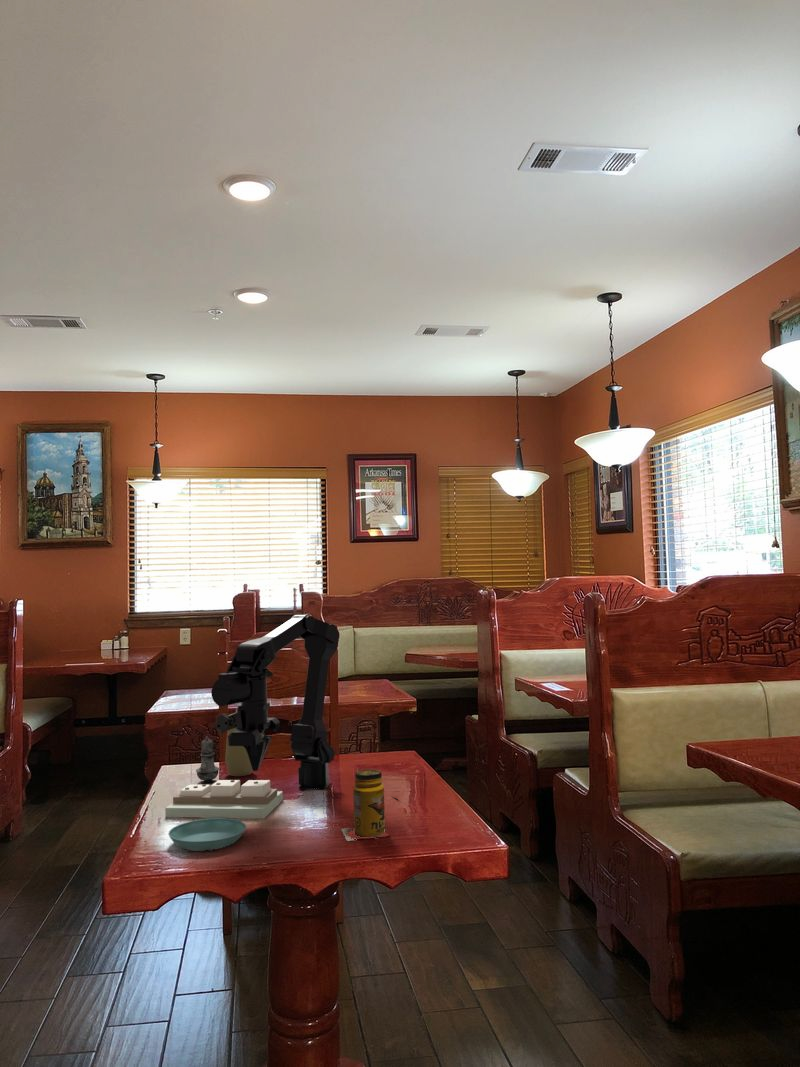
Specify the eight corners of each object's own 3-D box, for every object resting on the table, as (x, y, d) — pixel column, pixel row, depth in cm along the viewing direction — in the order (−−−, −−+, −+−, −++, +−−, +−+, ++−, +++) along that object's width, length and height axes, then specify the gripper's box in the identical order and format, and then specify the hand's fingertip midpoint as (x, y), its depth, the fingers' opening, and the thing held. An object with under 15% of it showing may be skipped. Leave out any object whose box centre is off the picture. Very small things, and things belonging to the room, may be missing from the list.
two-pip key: (240, 791, 181) (240, 779, 181) (232, 797, 176) (232, 784, 176) (219, 791, 181) (218, 779, 181) (210, 797, 176) (210, 784, 176)
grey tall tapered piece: (213, 787, 197) (212, 737, 198) (191, 786, 198) (190, 737, 199) (223, 781, 203) (222, 733, 204) (202, 780, 204) (201, 733, 205)
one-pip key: (270, 791, 180) (270, 779, 180) (263, 797, 175) (263, 785, 175) (248, 791, 180) (248, 779, 180) (241, 797, 175) (241, 785, 175)
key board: (282, 800, 184) (282, 785, 184) (264, 818, 170) (263, 802, 170) (191, 799, 187) (191, 784, 187) (165, 817, 173) (165, 801, 173)
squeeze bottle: (253, 777, 206) (251, 706, 207) (221, 778, 206) (220, 707, 207) (258, 770, 214) (257, 701, 215) (228, 770, 214) (227, 702, 215)
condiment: (390, 837, 155) (388, 774, 156) (347, 842, 153) (345, 778, 154) (382, 826, 162) (380, 766, 163) (341, 830, 160) (339, 769, 161)
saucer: (229, 857, 147) (229, 842, 147) (154, 854, 150) (154, 840, 150) (257, 831, 162) (257, 818, 162) (188, 830, 164) (188, 816, 165)
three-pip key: (210, 795, 181) (210, 783, 182) (202, 802, 177) (201, 789, 177) (189, 795, 182) (189, 783, 182) (180, 801, 177) (180, 789, 177)
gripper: (233, 693, 189) (235, 760, 188) (203, 706, 171) (204, 781, 170) (279, 693, 187) (281, 760, 187) (254, 706, 169) (255, 781, 168)
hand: (255, 770), depth 178 cm, fingers closed
